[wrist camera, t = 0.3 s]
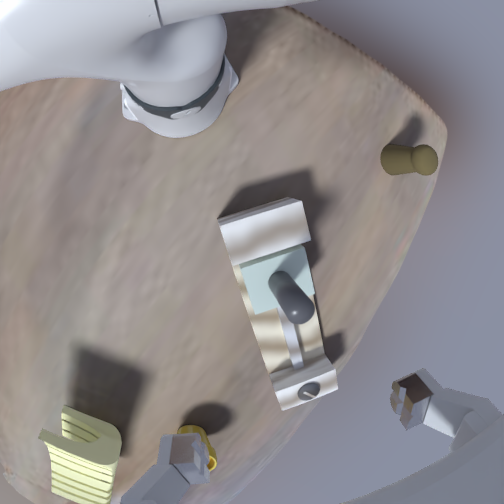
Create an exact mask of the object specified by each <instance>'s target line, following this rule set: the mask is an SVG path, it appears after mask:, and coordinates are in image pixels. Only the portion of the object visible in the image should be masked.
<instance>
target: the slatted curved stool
mask: <svg viewBox="0 0 504 504" xmlns="http://www.w3.org/2000/svg"><path fill="white" fill-rule="evenodd" d="M62 428H63V430H62V434H63V436H65V437H67V438H70V439H72V440H69V439H66V438H63V437H61V436H58V435H56V434H53V433H51V432H49V431H47V430H45V429H42V430H41V433H40V435H39V437H38V439H40V440H42V441H43V442H45V444H46V445H47V447H48V450H49V451H50V458H51V470H52V492H53V493H55V494H58V495H60V496H62V497H65V498H67V499H70V500H72V501H75V502H77V503H81V504H110V501H111V495H112V489H113V483H114V478H115V473H116V468H117V464H118V460H119V456H120V450H121V445H122V442H121V436H120V433H119V431H118V430H117V428H116V427H115V426H113V425H112V424H110V423H107V422H105V421H102V420H99V419H97V418H94V417H91V416H89V415H86V414H84V413H81V412H79V411H77V410H74V409H72V408H70V407H67V406H65V405H64V406H63V409H62ZM73 440H74V441H73Z"/></svg>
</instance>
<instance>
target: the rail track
mask: <svg viewBox="0 0 504 504" xmlns="http://www.w3.org/2000/svg"><path fill="white" fill-rule="evenodd" d="M217 220H218V223H219V226H220V230H221V233H222V236H223V239H224V242H225V245H226V248H227V252H228V255H229V258H230V261H231V264H232V267H233V270H234V273H235V276H236V279H237V282H238V285H239V288H240V291H241V294H242V297H243V300H244V303H245V306H246V309H247V312H248V315H249V318H250V321H251V324H252V327H253V330H254V333H255V336H256V339H257V342H258V345H259V348H260V350H261V353H262V356H263V359H264V362H265V365H266V368H267V371H268V373H269V376H270V379H271V382H272V385H273V387H274V390H275V393H276V396H277V398H278V401H279V404H280V406H281V409H282V411H283V410H286V409H289V408H291V407H294V406H297V405H300V404H302V403H305V402H308V401H310V400H313V399H315V398H318V397H320V396H323V395H325V394H328V393H330V392H332V391H335V390H337V389H338V386H337V378H336V371H335V368H334V367H333V365H332V364H331V362H330V361H329V359H328V358H327V357H326V355H325V353H324V348H323V343H322V337H321V332H320V327H319V322H318V317H317V312H316V307H315V312H314V315H313V317H312V318H311V319H310V320H309V321H308V322H306V323H304V324H299V325H298V324H293V323H291V322H290V321H289V320H288V318H287V316H286V315H285V313H284V311H283V310H282V308H281V306H280V307H277V308H274V309H271V310H268V311H265V312H262V313H259V314H256V315H255V313H254V310H253V308H252V305H251V302H250V299H249V295H248V292H247V289H246V286H245V283H244V280H243V277H242V274H241V270H240V267H239V264H241V263H244V262H247V261H250V260H253V259H256V258H259V257H262V256H265V255H268V254H271V253H274V252H277V251H280V250H283V249H286V248H289V247H292V246H295V245H298V244H301V245H302V243H304V242H307V241H310V240H311V238H310V233H309V229H308V225H307V221H306V216H305V212H304V208H303V204H302V201H300V200H297V199H293V198H290V197H286V198H283V199H280V200H276V201H273V202H269V203H266V204H263V205H259V206H256V207H253V208H250V209H246V210H243V211H240V212H237V213H234V214H230V215H227V216H224V217H221V218H218V219H217ZM308 297H309V298H310V299H311V301H312V302H313V303H314V306H315V302H314V297H313V295H310V296H308Z"/></svg>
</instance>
